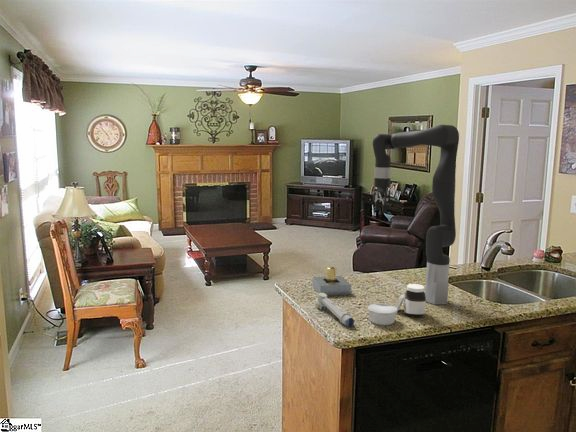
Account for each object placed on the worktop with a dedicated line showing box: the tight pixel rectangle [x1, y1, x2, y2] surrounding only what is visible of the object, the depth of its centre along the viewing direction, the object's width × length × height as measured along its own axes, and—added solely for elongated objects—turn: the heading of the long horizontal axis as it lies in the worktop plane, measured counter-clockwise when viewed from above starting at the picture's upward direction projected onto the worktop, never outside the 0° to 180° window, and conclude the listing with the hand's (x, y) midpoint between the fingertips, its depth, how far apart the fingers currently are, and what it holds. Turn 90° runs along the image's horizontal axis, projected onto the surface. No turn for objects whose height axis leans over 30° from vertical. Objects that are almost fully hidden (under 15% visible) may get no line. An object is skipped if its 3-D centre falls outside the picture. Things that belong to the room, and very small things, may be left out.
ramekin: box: [367, 302, 398, 326], centre depth 185 cm, size 11×11×5 cm
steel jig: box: [312, 275, 352, 296], centre depth 221 cm, size 14×14×4 cm
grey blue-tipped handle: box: [315, 293, 355, 328], centre depth 189 cm, size 5×7×25 cm
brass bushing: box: [326, 266, 337, 283], centre depth 220 cm, size 4×4×10 cm
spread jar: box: [394, 283, 427, 318], centre depth 193 cm, size 12×11×12 cm
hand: (381, 211), depth 227 cm, fingers open, 8 cm apart
